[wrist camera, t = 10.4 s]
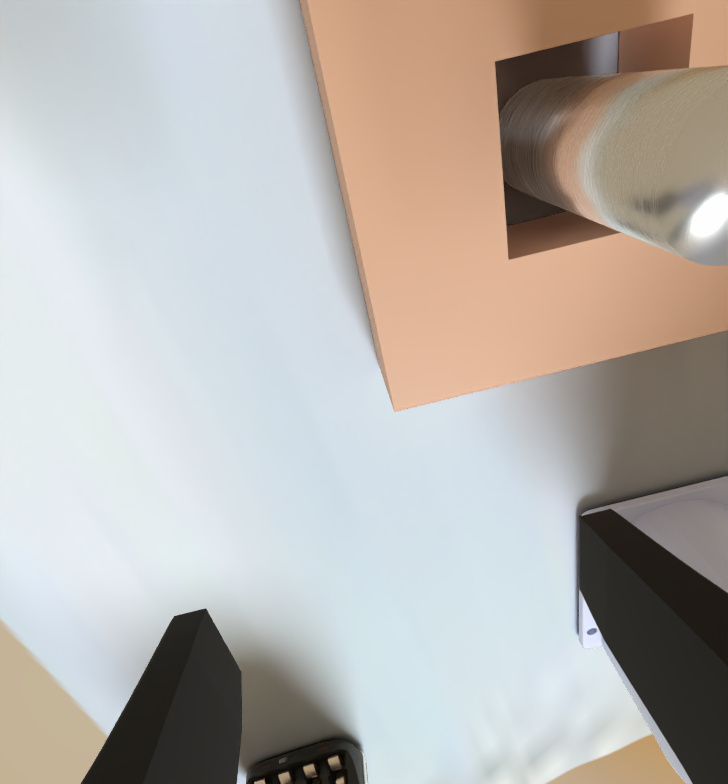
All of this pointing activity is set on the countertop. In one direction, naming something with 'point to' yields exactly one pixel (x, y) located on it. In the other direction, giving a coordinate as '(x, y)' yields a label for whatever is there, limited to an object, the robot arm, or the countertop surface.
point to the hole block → (492, 193)
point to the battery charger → (313, 766)
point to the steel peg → (628, 154)
